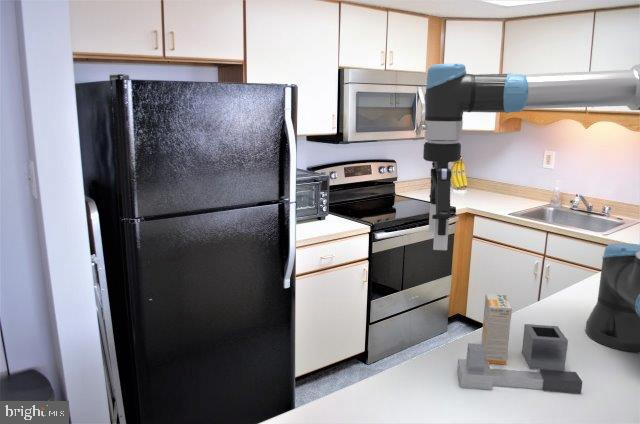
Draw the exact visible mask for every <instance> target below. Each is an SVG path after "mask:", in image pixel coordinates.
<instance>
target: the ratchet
mask: <svg viewBox="0 0 640 424" xmlns="http://www.w3.org/2000/svg"><path fill="white" fill-rule="evenodd" d="M485 353H486V351H485V348H484V345H483V344H481V343H471V342H468V343H467V350H466V358H457V366H456V373H457V378H458V382H459V385H460V386H459V387H460V388H465V389H477V390H490V391H491V390H493V386H494V387H506V388H516V389H517V388H519V389H531V390H542V391H544V392H556V393H568V394H580V395H581V394H582V388H583V380H582V378H581V377H580V376H579V374H578V373H577V372H576V371H570V370H569V371H567V370H564V371H556V370H543V369H540V370H539V369H538V371H532V370H531V371H530V370H529V371H528V370H515V369H506V368H505V369H502V368H491V367H490V363H488V361H485Z"/></svg>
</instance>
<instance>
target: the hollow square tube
mask: <svg viewBox="0 0 640 424" xmlns="http://www.w3.org/2000/svg"><path fill="white" fill-rule="evenodd" d="M568 344H569V340H568V339H567V337H566V336H565V334H564V333H563V332H562V330H561V328H560V327H559V326H558V325H556V326H555V325H544V324H530V323H529V324H528V323H525V324H524V327H523V337H522V348H521V354H522V356H523V359H524V361H525V362H526V364H527V367H528V368H529V369H531V370H538V371H539V370H540V369H543V370H556V371H566V370H565V369H566V360H567V352H568Z"/></svg>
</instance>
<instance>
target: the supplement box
mask: <svg viewBox="0 0 640 424" xmlns="http://www.w3.org/2000/svg"><path fill="white" fill-rule="evenodd" d="M484 296H485V297H484V298H485V299H484V308H483V320H482V321H483V322H482V333H481V343H480V344H483V345H484V348H485V351H486V353H485V361H488V363H489V364H498V365H507V362H508V353H509V352H508V351H509V343H510V333H511V332H510V330H511V322H512V320H511V319H512V313H513V311H512V310H513V309H512V308H513V307H512V306H511V304H510V300H509V298H508V296H507V294H500V293H499V294H498V293H485V295H484Z"/></svg>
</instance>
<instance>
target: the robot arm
mask: <svg viewBox="0 0 640 424" xmlns="http://www.w3.org/2000/svg"><path fill="white" fill-rule="evenodd" d="M426 76H427V77H426V87H425V110H424V112H425V114H424V120H425V121H424V123H425V124H422V125H421V129H422V130H423V131H424V140H425V141H426V142H425V141H424V144H423V157H422V158H423V160H424V161H426V162H431V165H432V168H430V189H429V190H430V192H429V202H430V204H429V219H428V220H429V221H428V233H430V234H431V233H433V247H432V250H433V251H448V242H449V240H448V239H449V227H450V226H449V221H450V219H451V216H452V214H451V179H452V170H451V168H449V163H456V162H459V161H461V153H462V152H461V151H462V144H461V143H460V141H461V140H462V138H463V137H462V136H463V123H464V122H463V121H464V120H463V116H464V113H504V114H509V113H520V112H522V111H524V110H535V109H537V110H538V109H540V110H541V109H561V108H562V109H568V108H594V107H595V108H599V107H600V108H601V107H627V108H628V109H630V110H631V111H640V64H634V65H633V66H632V67H631V68H630V69H621V70H619V69H617V70H616V69H615V70H599V71H595V70H593V71H578V72H577V71H576V72H575V71H572V72H553V73H552V72H551V73H550V72H549V73H548V72H547V73H532V74H531V73H529V74H526V73H525V74H521V73H519V74H518V73H511V72H510V73H483V74H473V73H467V70H466V65H465V64H462V63H436V64H432V65H430V67H429V68H428V69H427V75H426ZM601 259H602V263H601V270H600V271H601V272H600V276H599V277H600V280H599V285H598V286H599V287H598V295H597V302H596V304H595V305H594V307H593V309H592V311H591V312H590V314H589V316H588V318H587V320H586V323H585V329H584V330H585V333H586V335H587V336H588V337H589V338H590V339H591V340H593V341H595V342H597V343H599V344H601V345H602V346H603V345H604V346H606V347H608V348H613V349H616V350H619V351H620V350H621V351H625V352H634V353H640V244H638V243H624V242H622V243H621V242H618V243H616V242H615V243H610V244H607V246H605V248H604V252H603V255H602V258H601Z"/></svg>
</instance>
